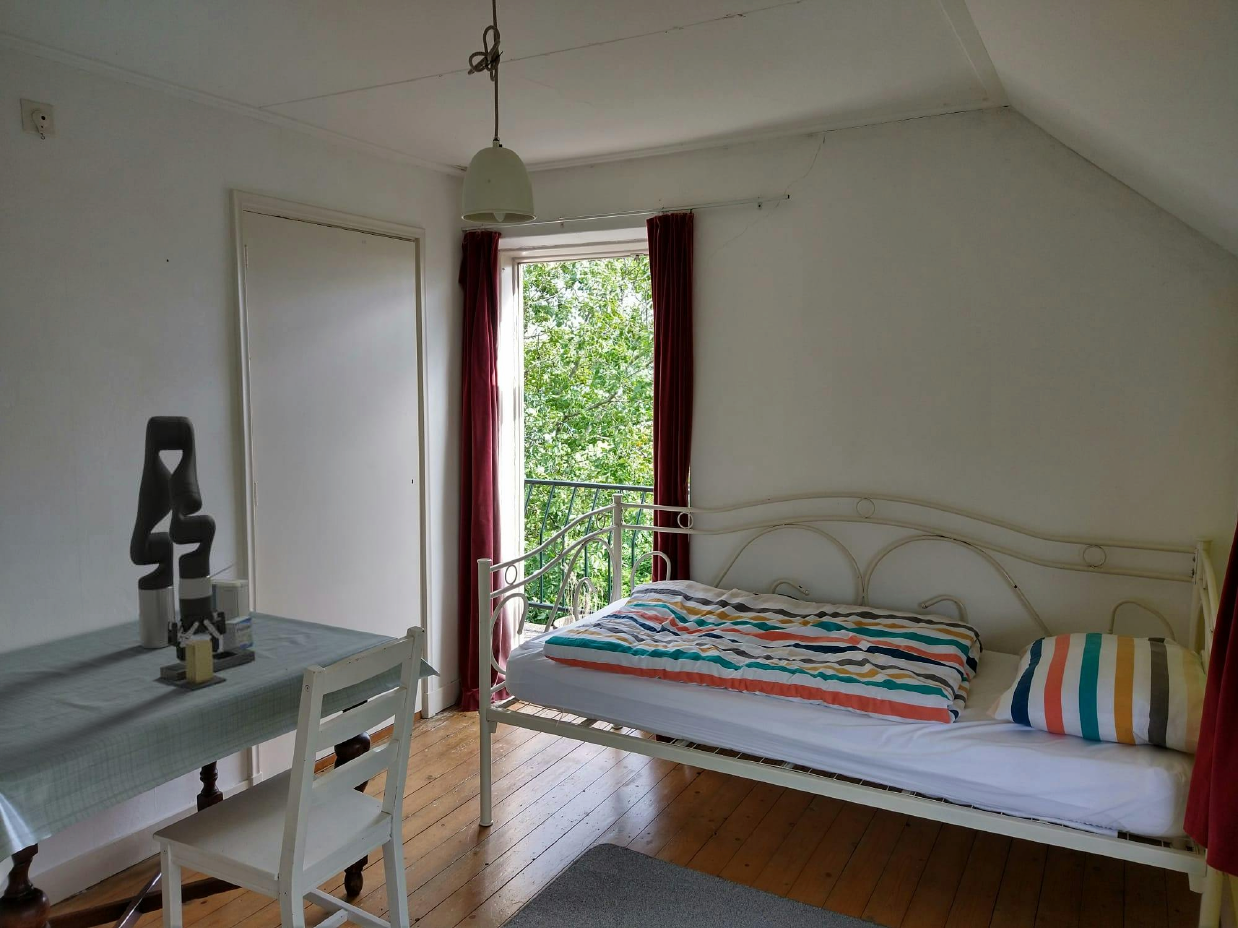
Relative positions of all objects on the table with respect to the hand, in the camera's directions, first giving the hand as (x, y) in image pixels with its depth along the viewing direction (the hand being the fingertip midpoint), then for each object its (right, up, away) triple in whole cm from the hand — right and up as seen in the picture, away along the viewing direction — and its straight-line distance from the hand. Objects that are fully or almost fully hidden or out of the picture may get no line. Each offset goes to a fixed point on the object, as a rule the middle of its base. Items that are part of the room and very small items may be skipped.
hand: (198, 656), depth 220 cm
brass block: (0, -6, +1) cm, 6 cm away
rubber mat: (0, -7, +1) cm, 7 cm away
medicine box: (-3, -5, +30) cm, 31 cm away
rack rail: (-3, -6, +12) cm, 14 cm away
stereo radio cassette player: (-24, -2, +62) cm, 66 cm away
